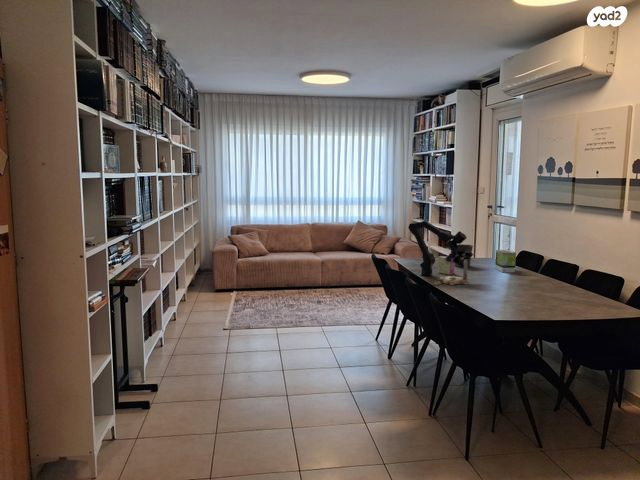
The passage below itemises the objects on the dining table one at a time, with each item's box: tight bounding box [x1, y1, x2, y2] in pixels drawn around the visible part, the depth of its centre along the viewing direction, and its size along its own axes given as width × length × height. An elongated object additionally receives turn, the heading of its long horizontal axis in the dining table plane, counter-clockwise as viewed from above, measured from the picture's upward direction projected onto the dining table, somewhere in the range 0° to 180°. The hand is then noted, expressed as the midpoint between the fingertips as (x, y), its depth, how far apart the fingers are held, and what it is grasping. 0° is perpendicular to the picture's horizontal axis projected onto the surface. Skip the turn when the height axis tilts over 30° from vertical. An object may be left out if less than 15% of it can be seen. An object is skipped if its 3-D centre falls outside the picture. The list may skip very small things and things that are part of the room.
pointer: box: [433, 280, 442, 286], centre depth 318 cm, size 5×2×2 cm, turn 118°
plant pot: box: [454, 243, 474, 268], centre depth 382 cm, size 16×16×16 cm
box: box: [437, 255, 455, 276], centre depth 354 cm, size 10×6×12 cm, turn 40°
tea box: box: [494, 249, 517, 273], centre depth 363 cm, size 15×10×15 cm
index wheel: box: [436, 259, 469, 286], centre depth 323 cm, size 19×21×15 cm
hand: (465, 266), depth 321 cm, fingers open, 4 cm apart
